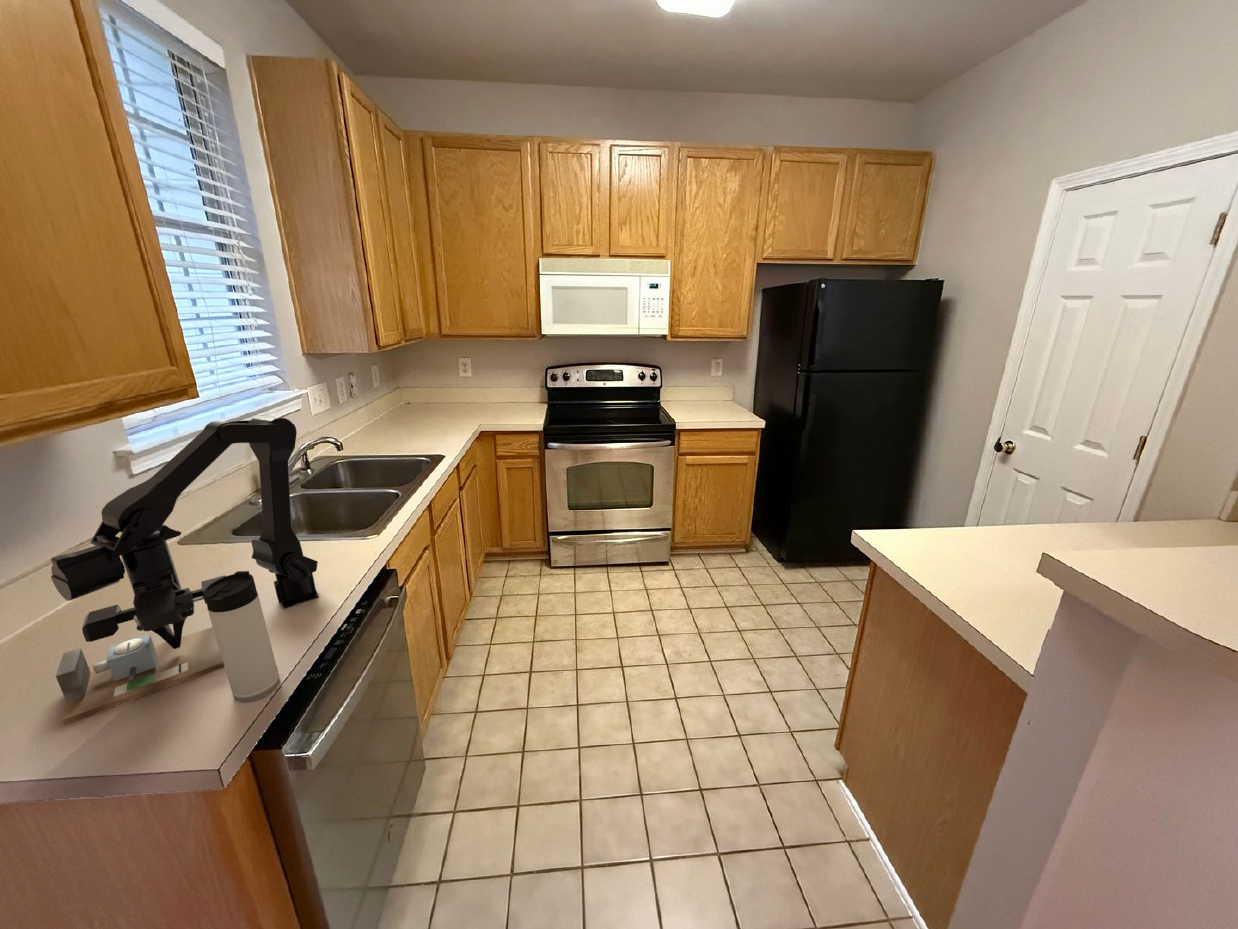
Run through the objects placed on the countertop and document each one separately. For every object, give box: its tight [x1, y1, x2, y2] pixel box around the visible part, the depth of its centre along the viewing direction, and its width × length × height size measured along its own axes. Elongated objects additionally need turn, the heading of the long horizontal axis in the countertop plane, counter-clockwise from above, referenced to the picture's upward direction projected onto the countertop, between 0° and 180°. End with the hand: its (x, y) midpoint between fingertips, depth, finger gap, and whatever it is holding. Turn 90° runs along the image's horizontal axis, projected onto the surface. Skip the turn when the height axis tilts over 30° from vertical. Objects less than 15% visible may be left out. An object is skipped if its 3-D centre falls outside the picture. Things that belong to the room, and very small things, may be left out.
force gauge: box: [92, 633, 156, 683], centre depth 81 cm, size 7×9×4 cm
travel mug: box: [204, 570, 281, 704], centre depth 78 cm, size 6×7×20 cm
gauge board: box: [55, 626, 225, 726], centre depth 85 cm, size 22×14×6 cm, turn 131°
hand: (177, 647), depth 87 cm, fingers closed
